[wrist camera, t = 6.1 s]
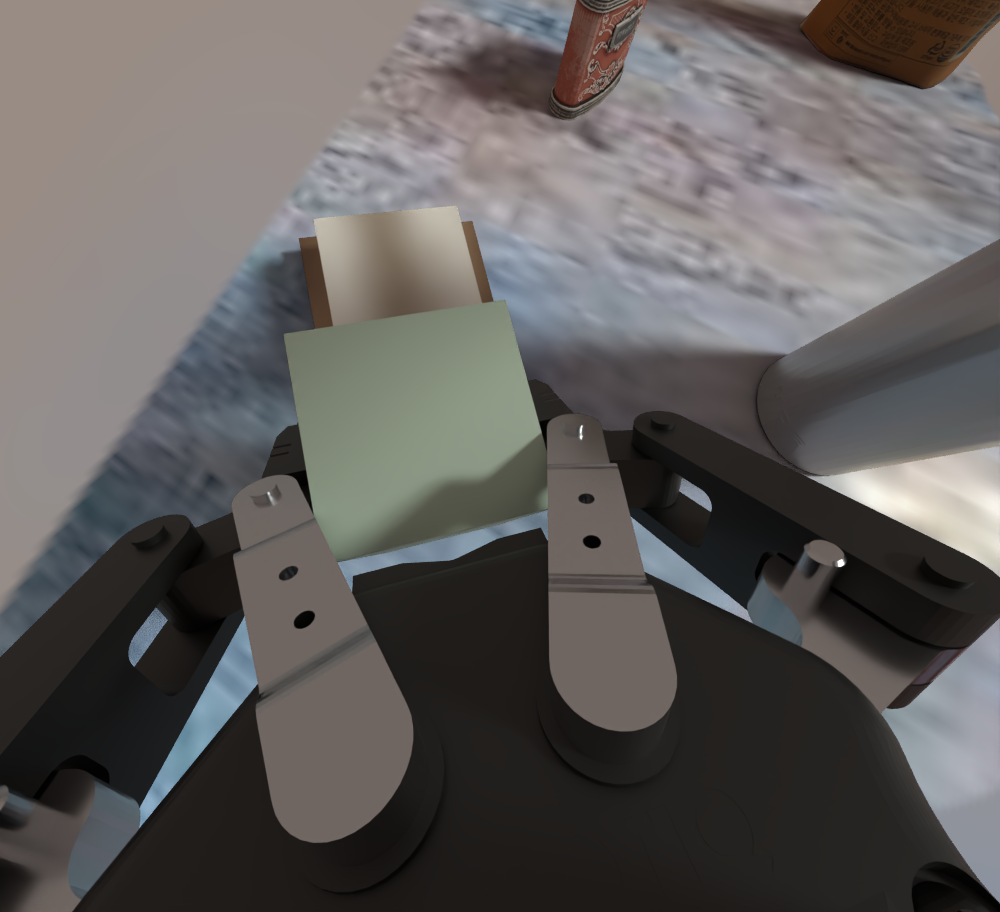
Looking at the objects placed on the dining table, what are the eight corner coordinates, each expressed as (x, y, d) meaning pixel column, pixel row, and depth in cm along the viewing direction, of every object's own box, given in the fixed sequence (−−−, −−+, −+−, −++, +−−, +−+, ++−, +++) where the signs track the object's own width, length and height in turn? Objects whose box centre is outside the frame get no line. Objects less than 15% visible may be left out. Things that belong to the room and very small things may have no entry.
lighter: (571, 128, 32) (627, -52, 22) (538, 101, 32) (581, -90, 22) (628, 79, 34) (703, -106, 24) (598, 54, 34) (660, -140, 25)
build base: (470, 237, 29) (476, 182, 24) (508, 381, 27) (521, 349, 22) (306, 255, 26) (280, 198, 22) (334, 412, 25) (311, 384, 20)
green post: (475, 420, 19) (505, 299, 10) (501, 523, 18) (561, 505, 9) (369, 442, 18) (283, 333, 9) (391, 551, 18) (322, 564, 8)
